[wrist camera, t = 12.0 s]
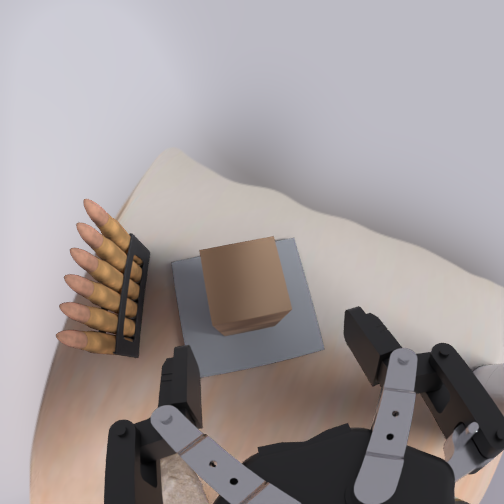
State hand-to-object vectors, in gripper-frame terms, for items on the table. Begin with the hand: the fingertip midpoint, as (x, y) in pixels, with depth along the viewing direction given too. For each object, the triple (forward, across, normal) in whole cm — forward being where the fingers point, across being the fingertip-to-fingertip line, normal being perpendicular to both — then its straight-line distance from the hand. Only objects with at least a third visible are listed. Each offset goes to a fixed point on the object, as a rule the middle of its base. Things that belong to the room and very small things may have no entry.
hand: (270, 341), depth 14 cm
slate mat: (+11, +1, +6) cm, 12 cm away
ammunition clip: (+13, +11, +4) cm, 17 cm away
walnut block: (+10, +1, +5) cm, 11 cm away
